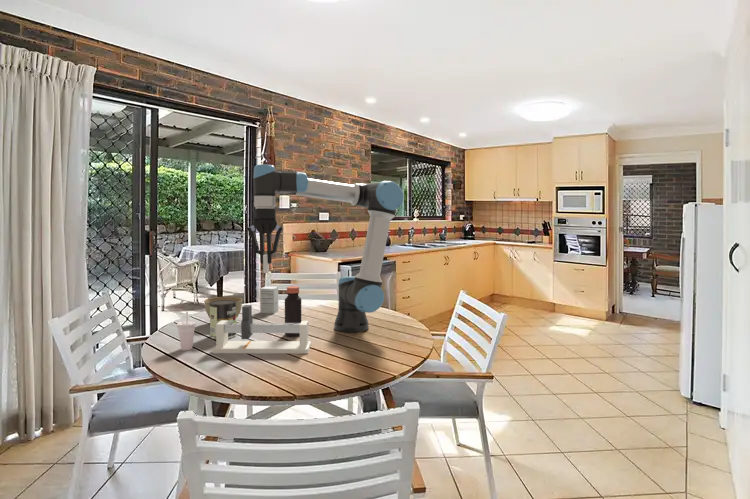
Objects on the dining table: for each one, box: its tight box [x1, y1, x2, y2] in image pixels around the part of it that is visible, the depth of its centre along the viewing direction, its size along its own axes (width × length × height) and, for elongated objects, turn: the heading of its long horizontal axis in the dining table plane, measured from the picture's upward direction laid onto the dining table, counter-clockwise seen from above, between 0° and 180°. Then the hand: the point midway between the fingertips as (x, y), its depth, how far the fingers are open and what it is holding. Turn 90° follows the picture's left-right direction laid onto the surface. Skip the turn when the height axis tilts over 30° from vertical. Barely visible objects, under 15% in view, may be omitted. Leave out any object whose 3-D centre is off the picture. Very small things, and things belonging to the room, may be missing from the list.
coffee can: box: [209, 300, 238, 340], centre depth 174 cm, size 10×10×14 cm
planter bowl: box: [204, 296, 243, 319], centre depth 194 cm, size 16×16×11 cm
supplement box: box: [259, 285, 279, 314], centre depth 218 cm, size 7×7×13 cm
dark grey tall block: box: [240, 304, 254, 340], centre depth 158 cm, size 2×7×11 cm, turn 2°
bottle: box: [284, 285, 302, 338], centre depth 177 cm, size 7×7×20 cm
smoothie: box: [176, 310, 197, 351], centre depth 157 cm, size 6×6×14 cm
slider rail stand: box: [211, 320, 312, 354], centre depth 158 cm, size 34×10×10 cm, turn 92°
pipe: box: [224, 322, 300, 334], centre depth 158 cm, size 29×3×3 cm, turn 92°
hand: (266, 272), depth 157 cm, fingers closed
